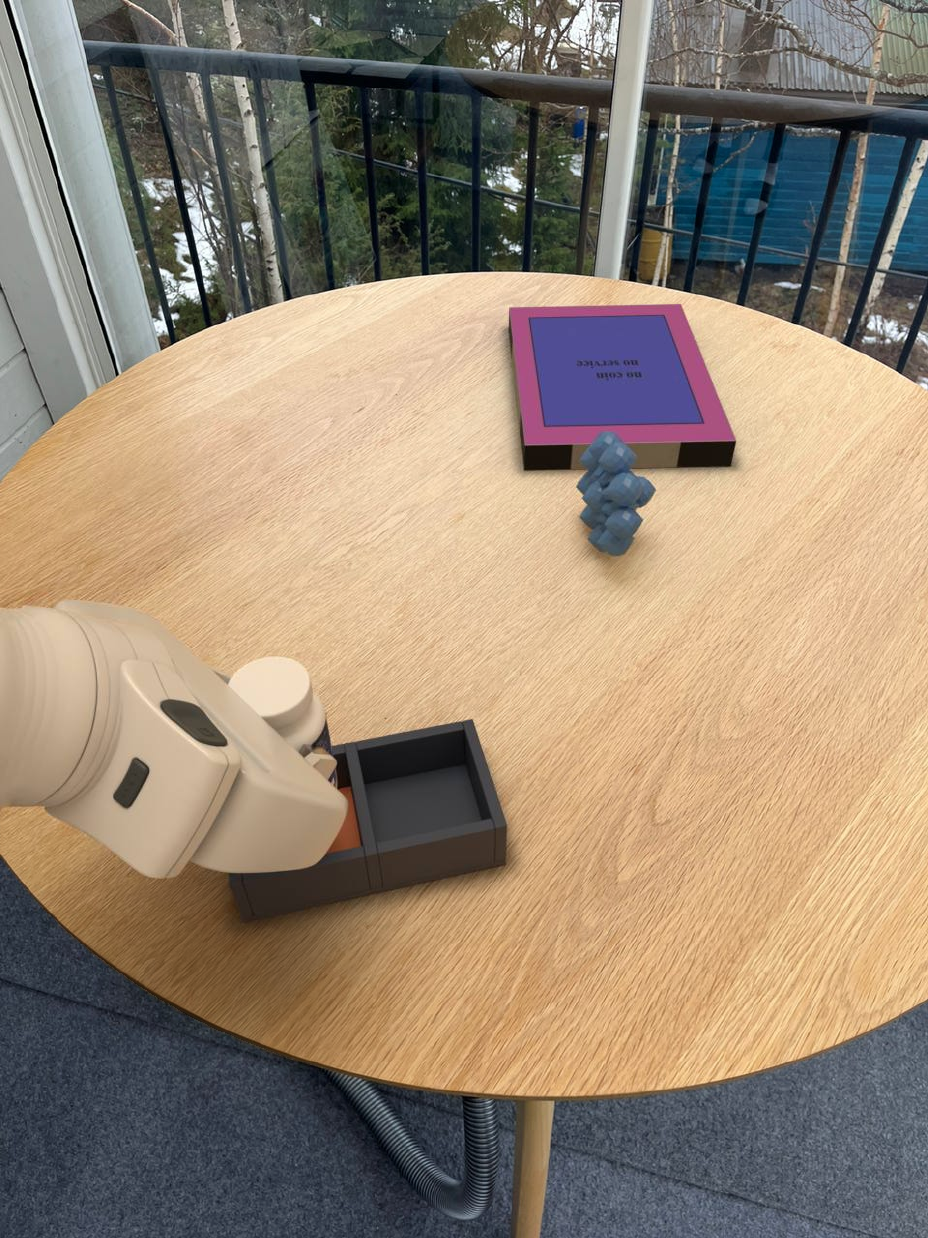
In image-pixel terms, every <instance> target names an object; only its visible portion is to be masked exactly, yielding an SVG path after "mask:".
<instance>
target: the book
mask: <svg viewBox="0 0 928 1238" xmlns="http://www.w3.org/2000/svg"><path fill="white" fill-rule="evenodd" d="M508 337H509V347H510V356H511V365H512V373H513V374H512V375H513V383H514V393H515V401H516V409H517V410H516V411H517V420H518V428H519V429H518V430H519V438H520V448H521V457H522V467H523V471H562V470H563V471H564V470H567V471H568V470H569V471H570V470H587V469H586V468H585V467H584V466H583V464H582V463H581V462H580V461H579V460H580V458H581V456H582V455H583V453H584V452H585V451H586V449H587V448H588V447H589V446H590V445H591V443H592V442H593V441H594V439H595V438H596V437H597V435H598V434H600V433H602V432H603V431H610V432H613V433H615V434H616V435H617V436H619V438H620V439H621V440H622V441H623V443H624V444H625V445H627V446H628V447H630V449H631V450H632V451H633V452H634V453H635V455H636V456H637V459H636V461H635V463H634V464H633V466H632V467H631V468H630V469H653V468H654V469H660V468H661V469H662V468H663V469H664V468H705V467H706V468H708V467H711V468H712V467H714V468H715V467H731V466H732V463H733V459H734V453H735V449H736V446H737V445H736V444H737V438H736V437H735V433H734V431H733V429H732V427H731V423H730V421H729V419H728V416H727V414H726V412H725V408H724V406H723V404H722V402H721V400H720V397H719V395H718V392H717V390H716V387H715V384H714V382H713V380H712V377H711V374H710V373H709V369H708V366H707V365H706V362H705V360H704V357H703V355H702V352H701V350H700V347H699V345H698V343H697V340H696V338H695V335H694V332H693V330H692V328H691V325H690V323H689V320H688V318H687V315H686V313H685V311H684V307H683V305H682V303H663V304H662V303H659V304H658V303H657V304H611V305H610V304H609V305H605V304H604V305H563V306H562V305H561V306H560V305H559V306H513V307H512V306H510V307H508Z"/></svg>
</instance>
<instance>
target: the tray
mask: <svg viewBox="0 0 928 1238" xmlns="http://www.w3.org/2000/svg"><path fill="white" fill-rule="evenodd" d="M331 746H332V752H333V757H334V759H335V760H336V761H337V765H336V767H335V768H336V774H337V790H338V791H340V792H341V793H342V794H343V795H344V796H345V797H346V799H347V801H348V811H347V815H346V818H345V820H344V823H343V825H342V827H341V829H340V831H339V833H338V834H337V836H336V838H335V840H334V841H333V843H332V844H331V846H330V848H329V849H328V851H327V852H326V853H325V855H324V856H323V857H322V858H321V859H320V860H319V861H318V862H317V863H316V864H314V865H313V866H310V867H307V868H303V869H296V870H288V871H277V872H261V873H228V885H229V888H230V890H231V894H232V897H233V899H234V902H235V904H236V908H237V911H238V913H239V916H240V920H241V922H242V923H248V922H252V921H253V922H254V921H257V920H261V919H265V918H271V917H275V916H279V915H284V914H287V913H288V914H289V913H294V912H298V911H303V910H307V909H311V908H316V907H321V906H324V905H329V904H334V903H338V902H342V901H347V900H351V899H357V898H361V897H366V896H369V895H374V894H379V893H384V892H388V891H392V890H397V889H401V888H406V887H411V886H414V885H420V884H424V883H428V882H434V881H437V880H438V881H439V880H442V879H446V878H452V877H456V876H460V875H461V876H462V875H464V874H470V873H474V872H478V871H484V870H487V869H491V868H496V867H502V866H506V865H507V839H508V824H507V821H506V818H505V815H504V812H503V809H502V805H501V802H500V799H499V796H498V793H497V790H496V787H495V784H494V781H493V778H492V777H493V776H492V774H491V771H490V768H489V765H488V762H487V759H486V756H485V753H484V749H483V747H482V743H481V739H480V736H479V734H478V731H477V728H476V724H475V722H474V719H473V718H470V719H469V718H468V719H463V720H459V721H454V722H448V723H444V724H439V725H434V726H429V727H423V728H419V729H413V730H408V731H402V732H398V733H397V732H396V733H393V734H388V735H383V736H377V737H371V738H367V739H366V738H365V739H362V740H356V741H350V742H345V743H340V744H335V745H331Z"/></svg>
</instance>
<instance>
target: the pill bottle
mask: <svg viewBox="0 0 928 1238" xmlns="http://www.w3.org/2000/svg"><path fill="white" fill-rule="evenodd" d="M231 676H232V677H231V679H230V681H229V683H228V686H229V687H230V688H231V689H232V690H233V691H234V692H236V693H237V694H238V695H239V696H240V697H241V698H242V699H243V700H244V701H245V702H246V703H247V704H248V705H249V706H250V707H251V708H252V709H253V710H254V711H255V712H256V713H258V714H259V715H260V716H261V717H262V718H263V719H264V720H265V721H266V722H267V723H268V724H269V725H270V726H271V727H272V728H273V729H274V730H275V731H276V732H277V733H279V734H280V735H281V736H282V737H283V738H284V739H285V740H286V741H287V742H288V743H289V744H290V745H291V746H292V747H293V748H294V749H295V750H296V751H297V752H298V753H299V752H300V750H301V748H302V746H303V745H304V744H308V745H313V746H316V745H319V746H321V747H322V748H323V749H324V750H326V751H327V752H328V753H329V754H330V755H331V756H332V757H333V752H332V746H333V745H332V741H331V735H330V730H329V725H328V718H327V713H326V709H325V707H324V703H323V701H322V699H321V698H320V696H319V695H318V694H317V693H316V692H315V691H314V690H313V683H312V680H311V675H310V673H309V671H308V669H306V667H305V666H304V665H303V664H301V662H300V661H298V660H296V659H293V658H290V657H286V656H277V655H275V656H273V655H272V656H264V657H260V658H257V659H254V660H252V661H250V662H247V663H246V664H244V665H243V666H241V667H240V668H238V669H237V670H236V671H235V672H234V673H233V675H231ZM333 758H334V757H333ZM328 781H329V782H330V783H331V784H332V785H333V786H334V787H335V788H336V789H337V774H336V768H335V769H334V770H333V772H332V774H331V776H330V777H329V779H328Z"/></svg>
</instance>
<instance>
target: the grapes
mask: <svg viewBox="0 0 928 1238" xmlns="http://www.w3.org/2000/svg"><path fill="white" fill-rule="evenodd" d="M636 459H637V456H636V455H635V453H634V452H633V451H632V450H631V449H630V447H628V446H627V445H625V444H624V443H623V441H622V440H621V439H620V438H619V436H617V435H616V434H615V433H613V432H610V431H603V432H602V433H600V434H598V435H597V437H596V438H595V439H594V441H593V442H592V443H591V445H590V446H589V447H588V448H587V449H586V451H585V452H584V453H583V455H582V456H581V458H580V460H579V461H580V462H581V463H582V464H583V466H584V467H585V468H586V469H585V470H587V471H585V472H584V474H583V475H582V477H581V478H580V479H579V481H578V482H577V484H576V486H575V487H576V489H577V490H578V491H579V492H580V493H581V494H582V497H581V499H582V501H583V502H584V503H585V504H586V506H585V507H584V508H583V509H582V512H581V513H580V514H579V517H578V518H579V519H580V520H581V521H582V522H583V523H584V525H585V526H586V527H588V528H589V529H590V530H591V531H590V533H589V535H588V536H587V541H588V542H589V543H590V544H591V545H592V546H593V547H594V549H596V550H597V551H598V552H601V553H605V554H608V555H609V556H611V557H617V558H618V557H621V556H623V555H625V554H626V552H627V551H628V550H630V548H631V546H632V544H633V542H634V541H635V539H636V538H635V537H634V535H635V534H637V531H639V528H640V527H641V525H642V524H643V522H644V519H643V517H641V515H640V514H639V513H638V512H637V509H638V508H639V509H641V508H643V507H645V506H647V505H648V503H649V502H650V501H652V500H651V499H652V498H653V496H654V495H655V493H656V491H657V489H656V487H655V486H654V485H653V484H652V483H651V481H650V480H649V479H647V478H646V477H644V476H640V475H636V474H635V472H633V471H632V470H631V469H632V468H631V467H632V466H633V464H634V463H635V461H636Z"/></svg>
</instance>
